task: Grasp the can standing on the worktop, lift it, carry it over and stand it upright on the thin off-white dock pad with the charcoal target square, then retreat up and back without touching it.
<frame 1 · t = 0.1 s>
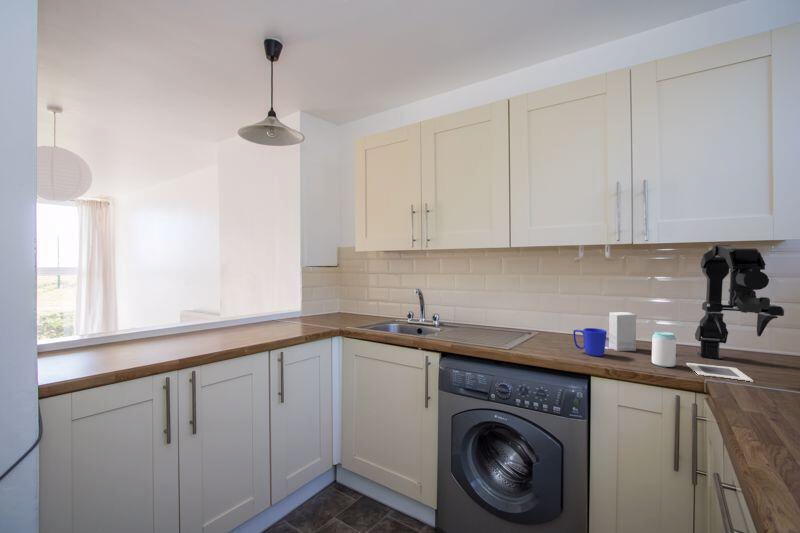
hand: (739, 334, 118), 15 cm above the worktop, tool pointing down, fingers open, 9 cm apart
can: (663, 365, 133), on the worktop
skincare box: (621, 349, 155), on the worktop
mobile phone: (610, 346, 162), on the worktop
mug: (589, 354, 148), on the worktop
dock: (717, 372, 125), on the worktop
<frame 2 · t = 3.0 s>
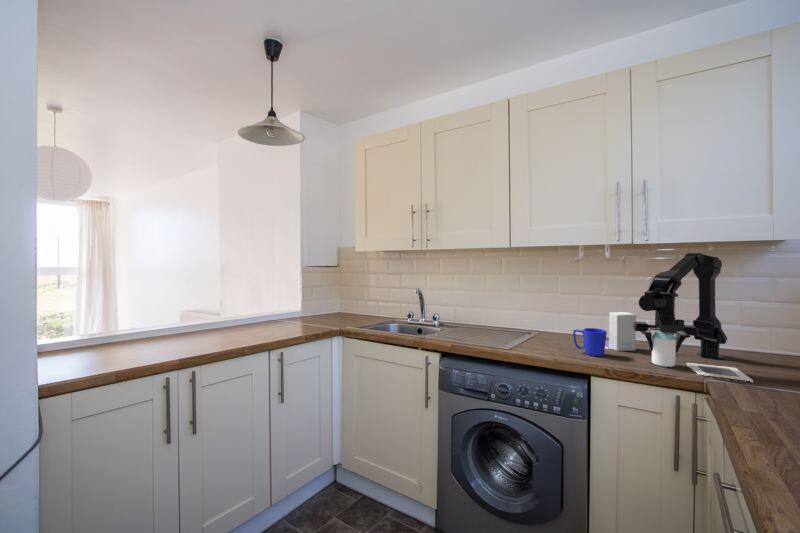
hand: (663, 351, 133), 5 cm above the worktop, tool pointing down, fingers closed on can, 7 cm apart
can: (663, 365, 133), on the worktop, touching gripper
everything else where it was.
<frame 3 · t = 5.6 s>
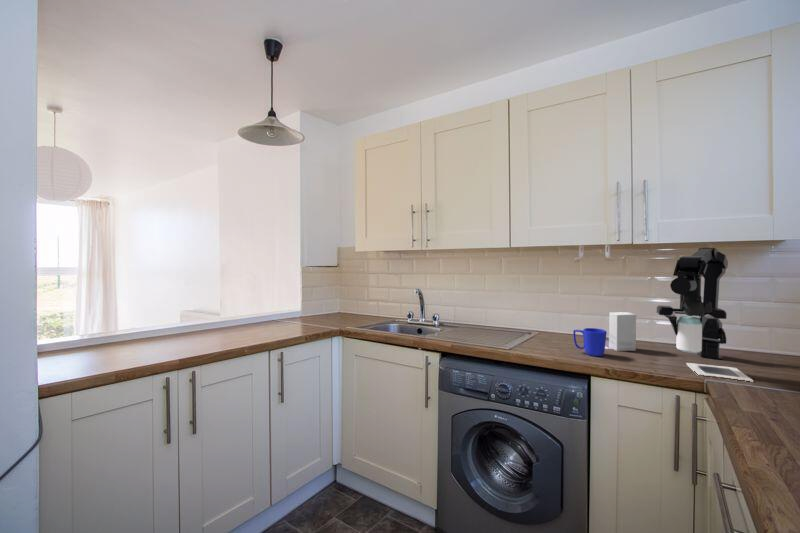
hand: (689, 335, 129), 12 cm above the worktop, tool pointing down, fingers closed on can, 7 cm apart
can: (688, 351, 129), point 6 cm above the worktop, touching gripper
everything else where it was.
when the fingers open (7 cm above the worktop, at t = 8.4 s): can stays where it is, resting on dock.
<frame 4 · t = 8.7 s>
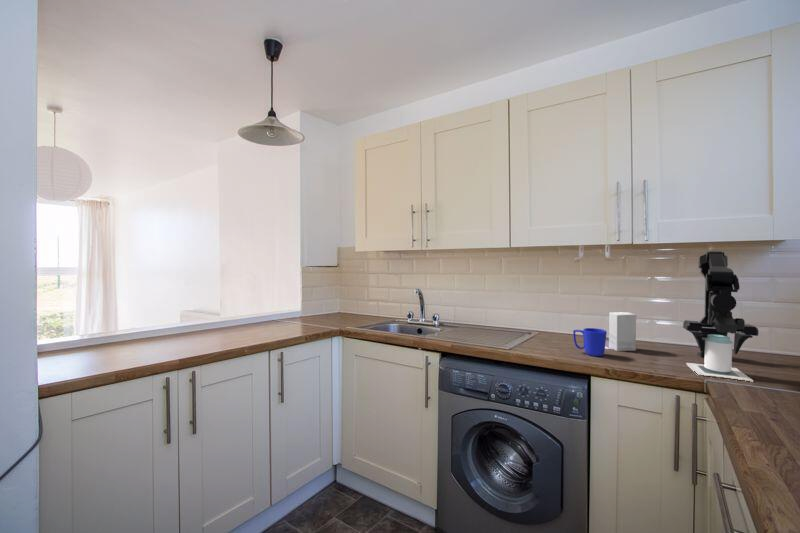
hand: (718, 352, 125), 7 cm above the worktop, tool pointing down, fingers open, 9 cm apart
can: (717, 371, 125), resting on dock
everything else where it was.
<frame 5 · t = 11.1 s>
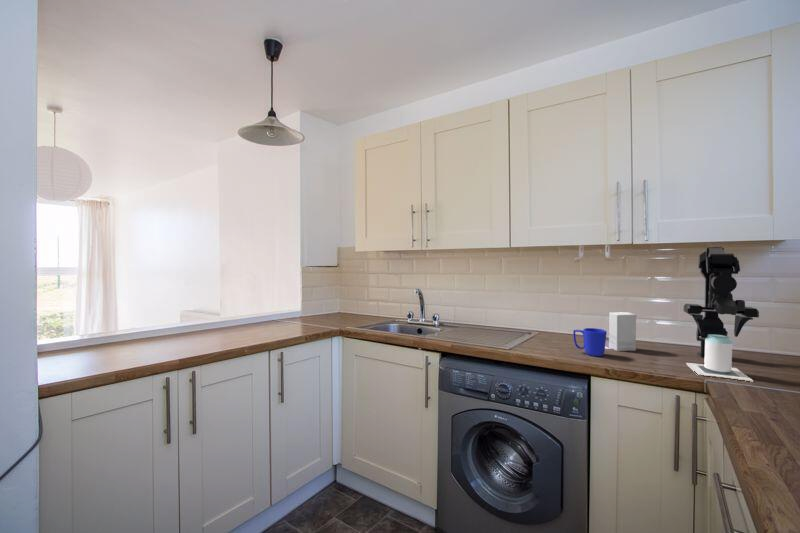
hand: (718, 335, 125), 13 cm above the worktop, tool pointing down, fingers open, 9 cm apart
nothing on the worktop moved.
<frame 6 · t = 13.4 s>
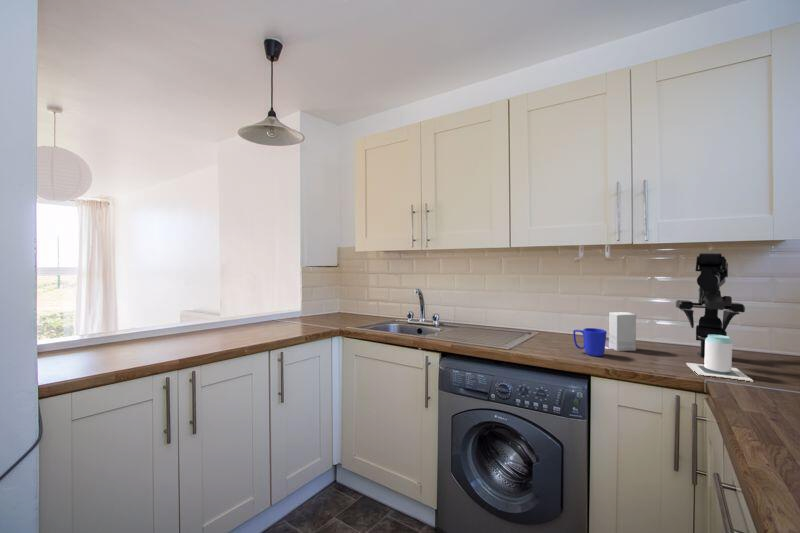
hand: (708, 329, 134), 13 cm above the worktop, tool pointing down, fingers open, 9 cm apart
nothing on the worktop moved.
at the end: can 0.1 cm off-centre on the dock, point 0.5 cm above the dock's base; can tilted 0°; the gripper is holding nothing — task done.
